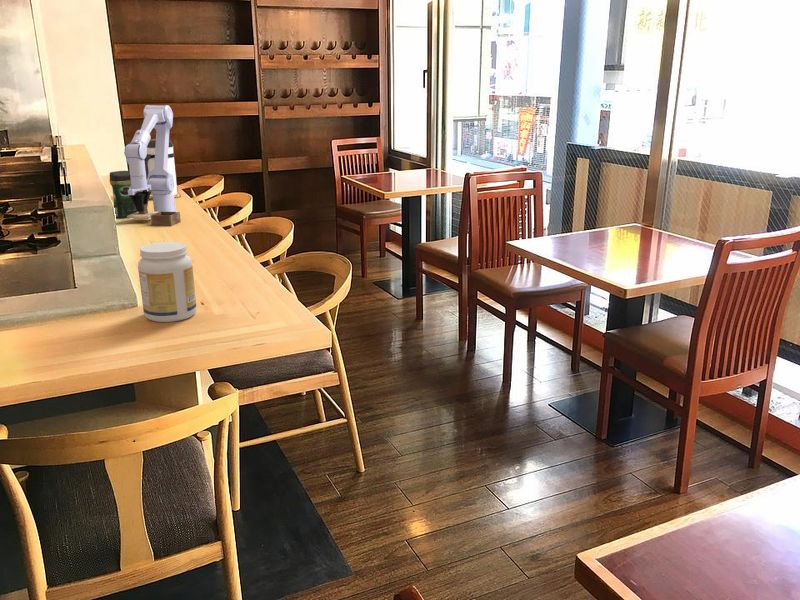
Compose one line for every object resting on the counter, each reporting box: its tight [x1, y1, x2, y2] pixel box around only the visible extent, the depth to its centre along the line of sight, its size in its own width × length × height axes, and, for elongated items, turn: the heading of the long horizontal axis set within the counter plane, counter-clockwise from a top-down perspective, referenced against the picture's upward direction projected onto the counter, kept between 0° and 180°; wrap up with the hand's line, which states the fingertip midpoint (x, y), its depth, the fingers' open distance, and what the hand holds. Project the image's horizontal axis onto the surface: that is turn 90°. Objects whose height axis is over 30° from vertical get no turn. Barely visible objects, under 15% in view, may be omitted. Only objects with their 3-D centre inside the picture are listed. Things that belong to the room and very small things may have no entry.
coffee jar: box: [109, 170, 137, 219], centre depth 275 cm, size 10×8×19 cm
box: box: [150, 211, 182, 227], centre depth 261 cm, size 8×8×4 cm
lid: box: [126, 204, 159, 220], centre depth 265 cm, size 9×9×5 cm
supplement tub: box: [137, 241, 198, 323], centre depth 160 cm, size 12×12×17 cm
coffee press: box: [144, 138, 182, 201], centre depth 315 cm, size 17×16×30 cm
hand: (142, 210), depth 265 cm, fingers closed on lid, 3 cm apart
